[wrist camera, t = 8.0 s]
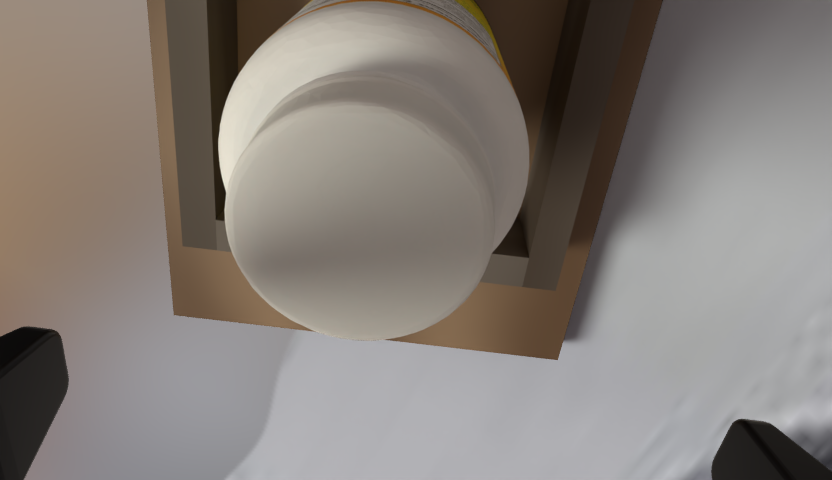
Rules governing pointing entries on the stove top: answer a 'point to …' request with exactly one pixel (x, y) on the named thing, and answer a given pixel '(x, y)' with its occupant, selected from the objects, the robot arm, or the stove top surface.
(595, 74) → the holder board
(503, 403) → the stove top surface
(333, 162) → the supplement bottle
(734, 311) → the stove top surface
